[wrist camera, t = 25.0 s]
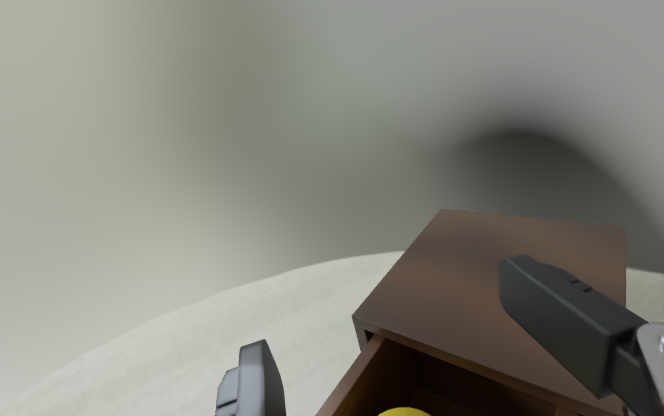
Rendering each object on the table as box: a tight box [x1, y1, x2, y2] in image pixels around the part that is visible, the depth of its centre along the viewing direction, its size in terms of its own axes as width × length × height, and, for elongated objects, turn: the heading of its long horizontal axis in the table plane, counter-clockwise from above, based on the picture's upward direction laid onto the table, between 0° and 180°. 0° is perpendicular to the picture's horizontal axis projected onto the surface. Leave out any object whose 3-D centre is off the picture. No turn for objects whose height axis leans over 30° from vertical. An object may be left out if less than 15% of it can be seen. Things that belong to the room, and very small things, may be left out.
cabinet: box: [352, 209, 626, 416], centre depth 23 cm, size 15×13×11 cm
